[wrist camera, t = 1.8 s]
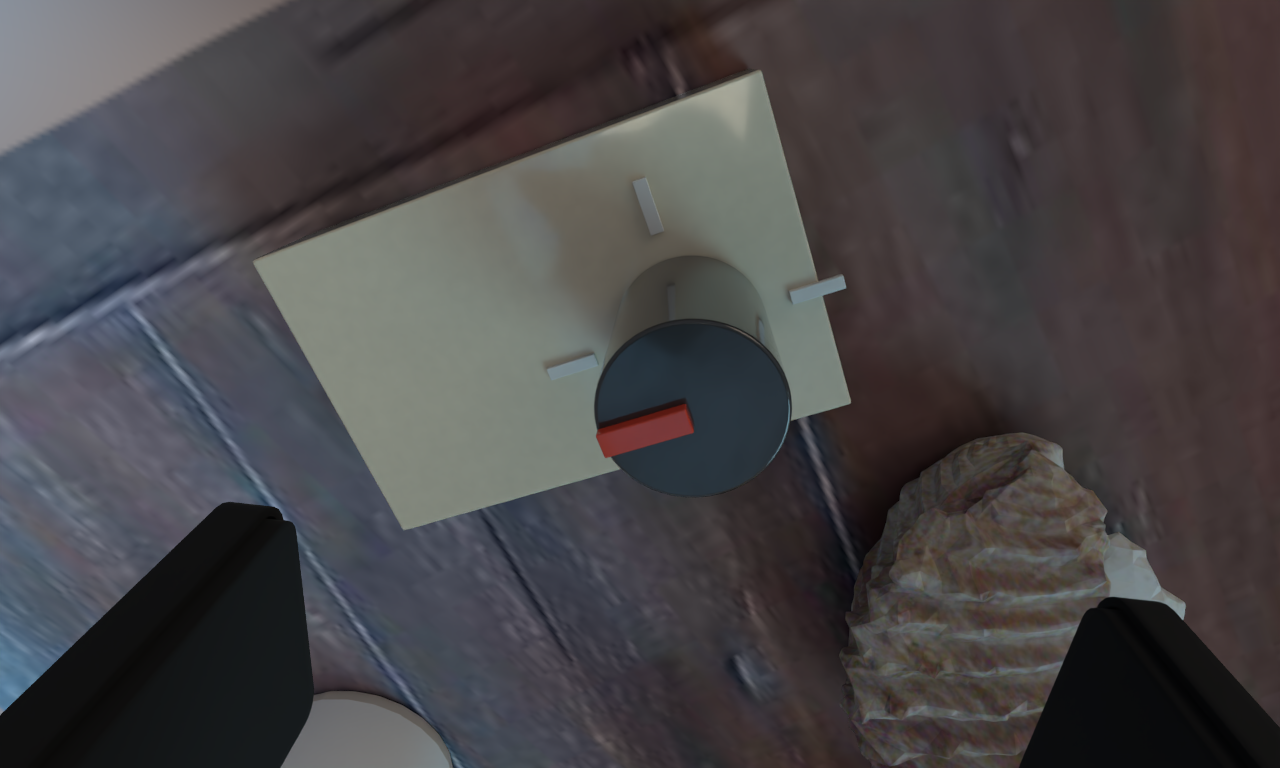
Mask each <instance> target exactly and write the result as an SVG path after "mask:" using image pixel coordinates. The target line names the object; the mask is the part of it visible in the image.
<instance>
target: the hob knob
mask: <svg viewBox="0 0 1280 768" xmlns="http://www.w3.org/2000/svg"><path fill="white" fill-rule="evenodd" d="M791 416H792V399H791V392H790V388H789V384H788V380H787V377H786V374H785V371H784V368H783V364H782V361H781V358H780V355H779V352H778V348H777V345H776V342H775V339H774V336H773V332H772V329H771V326H770V323H769V320H768V316H767V313H766V310H765V307H764V304H763V302H762V299H761V297H760V295H759V293H758V291H757V290H756V288H755V287H754V286H753V284H752V283H751V282H750V281H749V280H748V279H747V278H746V277H745V276H744V275H743V274H742V273H741V272H740V271H738V270H737V269H736V268H734V267H732V266H730V265H729V264H727V263H725V262H722V261H720V260H717V259H713V258H710V257H704V256H680V257H674V258H671V259H667V260H664V261H662V262H659V263H657V264H655V265H654V266H652V267H650V268H648V269H647V270H646V271H644V272H643V273H642V274H640V275H639V276H638V277H637V278H636V279H635V280H634V281H633V283H632V284H631V285H630V286H629V288H628V289H627V291H626V293H625V294H624V296H623V298H622V300H621V303H620V305H619V308H618V312H617V315H616V319H615V323H614V326H613V330H612V333H611V337H610V340H609V344H608V347H607V351H606V355H605V358H604V362H603V365H602V369H601V372H600V376H599V379H598V383H597V387H596V391H595V397H594V418H595V424H596V429H597V433H596V438H597V441H598V443H599V446H600V448H601V450H602V453H603V455H604V457H605V458H608V457H611V459H612V460H613V461H614V462H615V463H616V464H617V465H618V467H619V468H620V469H621V470H623V471H624V472H625V473H626V474H627V475H628V476H629V477H631V478H632V479H634V480H635V481H637V482H638V483H640V484H642V485H644V486H646V487H648V488H650V489H653V490H655V491H658V492H661V493H665V494H669V495H673V496H680V497H706V496H713V495H717V494H722V493H725V492H728V491H731V490H733V489H736V488H738V487H740V486H742V485H744V484H746V483H747V482H749V481H750V480H752V479H754V478H755V477H756V476H757V475H759V474H760V473H761V472H762V471H763V470H764V469H765V468H766V467H767V466H768V465H769V464H770V463H771V462H772V461H773V459H774V458H775V457H776V455H777V454H778V453H779V451H780V449H781V447H782V445H783V444H784V442H785V439H786V437H787V434H788V431H789V427H790V423H791Z"/></svg>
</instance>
